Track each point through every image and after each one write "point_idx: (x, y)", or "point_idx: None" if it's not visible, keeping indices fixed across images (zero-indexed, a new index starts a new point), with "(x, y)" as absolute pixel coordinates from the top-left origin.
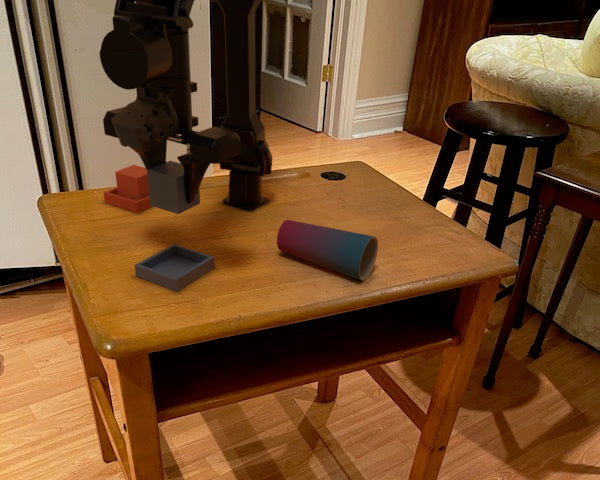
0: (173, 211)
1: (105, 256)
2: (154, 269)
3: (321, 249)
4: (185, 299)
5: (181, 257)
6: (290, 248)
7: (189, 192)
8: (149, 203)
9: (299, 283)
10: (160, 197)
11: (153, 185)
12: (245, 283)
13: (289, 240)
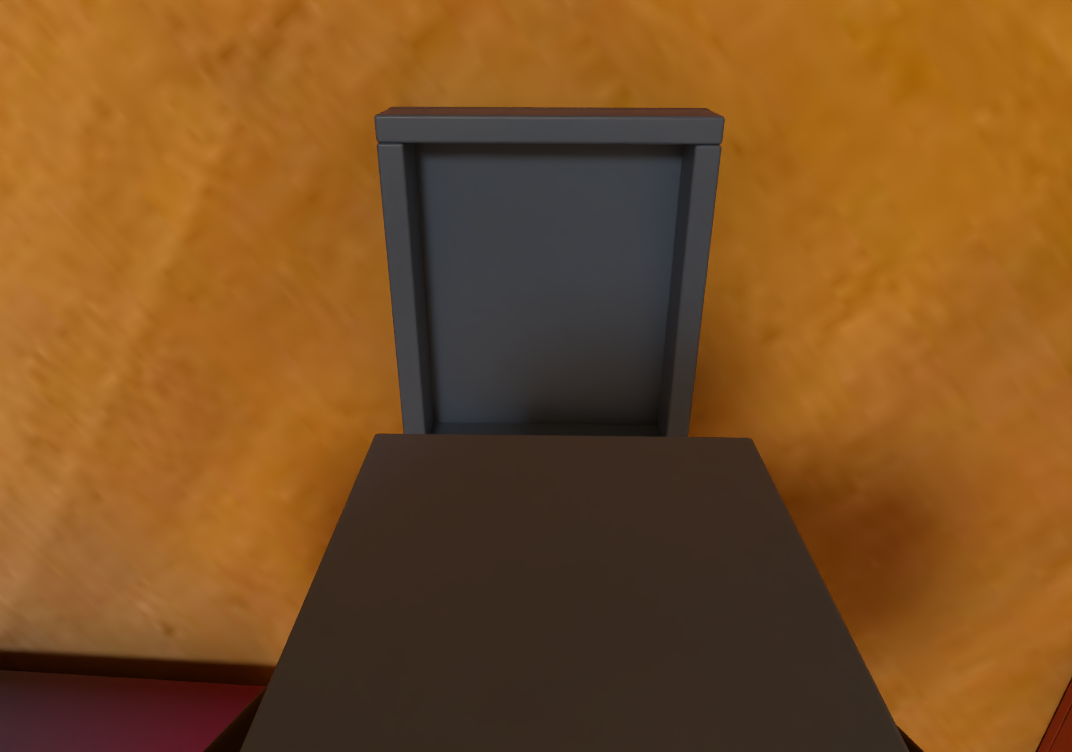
0: (431, 440)
1: (1011, 202)
2: (648, 224)
3: None
4: (296, 63)
5: (609, 416)
6: (168, 699)
7: (256, 696)
8: (1066, 735)
9: (29, 526)
10: (604, 510)
11: (733, 605)
12: (197, 395)
13: (157, 734)
